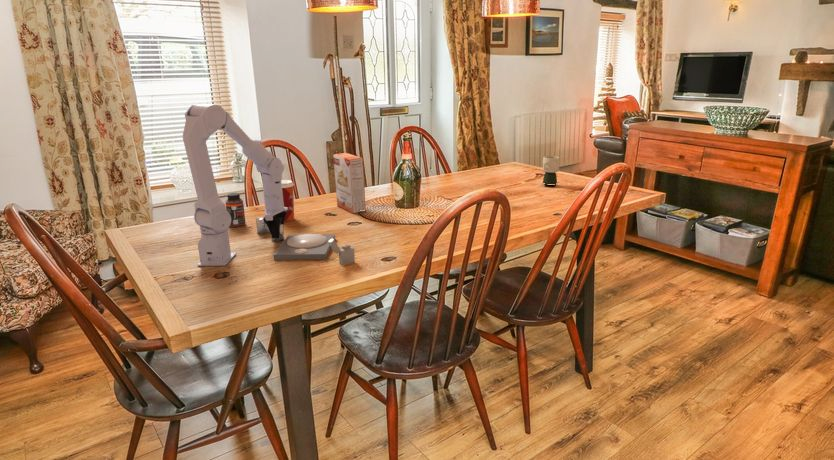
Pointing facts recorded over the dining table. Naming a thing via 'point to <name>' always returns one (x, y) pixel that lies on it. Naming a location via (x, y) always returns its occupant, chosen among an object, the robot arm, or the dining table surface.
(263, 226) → the spacer
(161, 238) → the dining table surface
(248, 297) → the dining table surface
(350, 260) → the lighter
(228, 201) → the supplement bottle
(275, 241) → the cylinder
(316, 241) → the kitchen scale
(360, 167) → the cracker box
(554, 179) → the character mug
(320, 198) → the dining table surface
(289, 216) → the paper cup
